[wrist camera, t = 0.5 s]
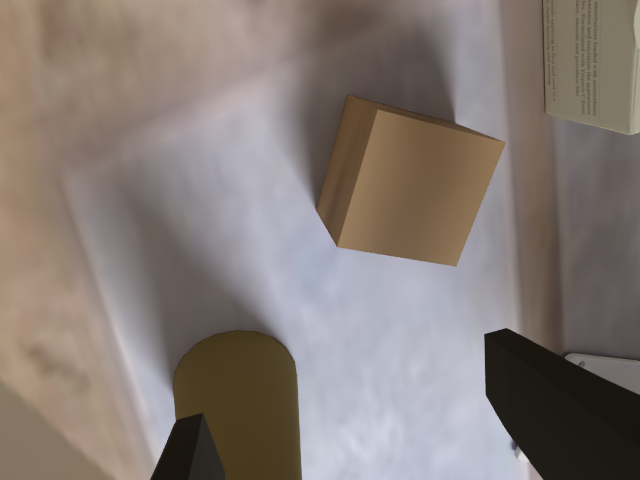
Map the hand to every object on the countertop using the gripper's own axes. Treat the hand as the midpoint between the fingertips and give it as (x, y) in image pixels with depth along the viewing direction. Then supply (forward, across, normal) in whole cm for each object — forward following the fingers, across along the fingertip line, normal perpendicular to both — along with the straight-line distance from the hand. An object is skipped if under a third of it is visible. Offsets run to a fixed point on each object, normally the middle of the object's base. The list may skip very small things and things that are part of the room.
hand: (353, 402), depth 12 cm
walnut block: (+10, -5, -2) cm, 12 cm away
